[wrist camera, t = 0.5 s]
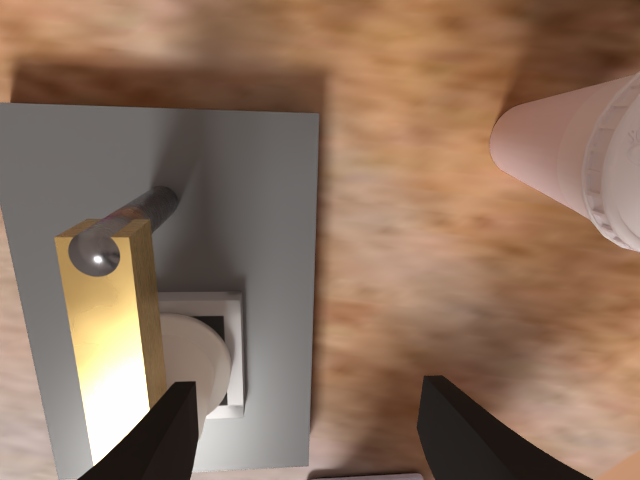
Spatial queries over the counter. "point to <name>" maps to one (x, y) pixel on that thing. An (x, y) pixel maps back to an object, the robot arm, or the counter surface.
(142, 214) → the tan l-shaped bar
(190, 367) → the plug
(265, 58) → the counter surface
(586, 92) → the smoothie
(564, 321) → the counter surface
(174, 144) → the socket block
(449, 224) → the counter surface
